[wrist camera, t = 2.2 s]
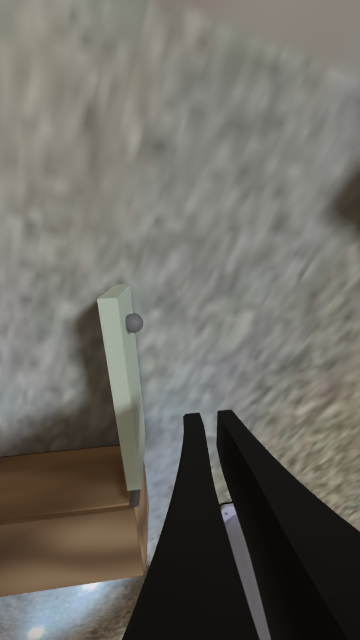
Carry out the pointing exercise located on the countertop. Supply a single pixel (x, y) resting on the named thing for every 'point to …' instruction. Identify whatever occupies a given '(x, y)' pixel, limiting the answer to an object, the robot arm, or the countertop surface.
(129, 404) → the door
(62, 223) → the countertop surface
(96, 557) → the cabinet
